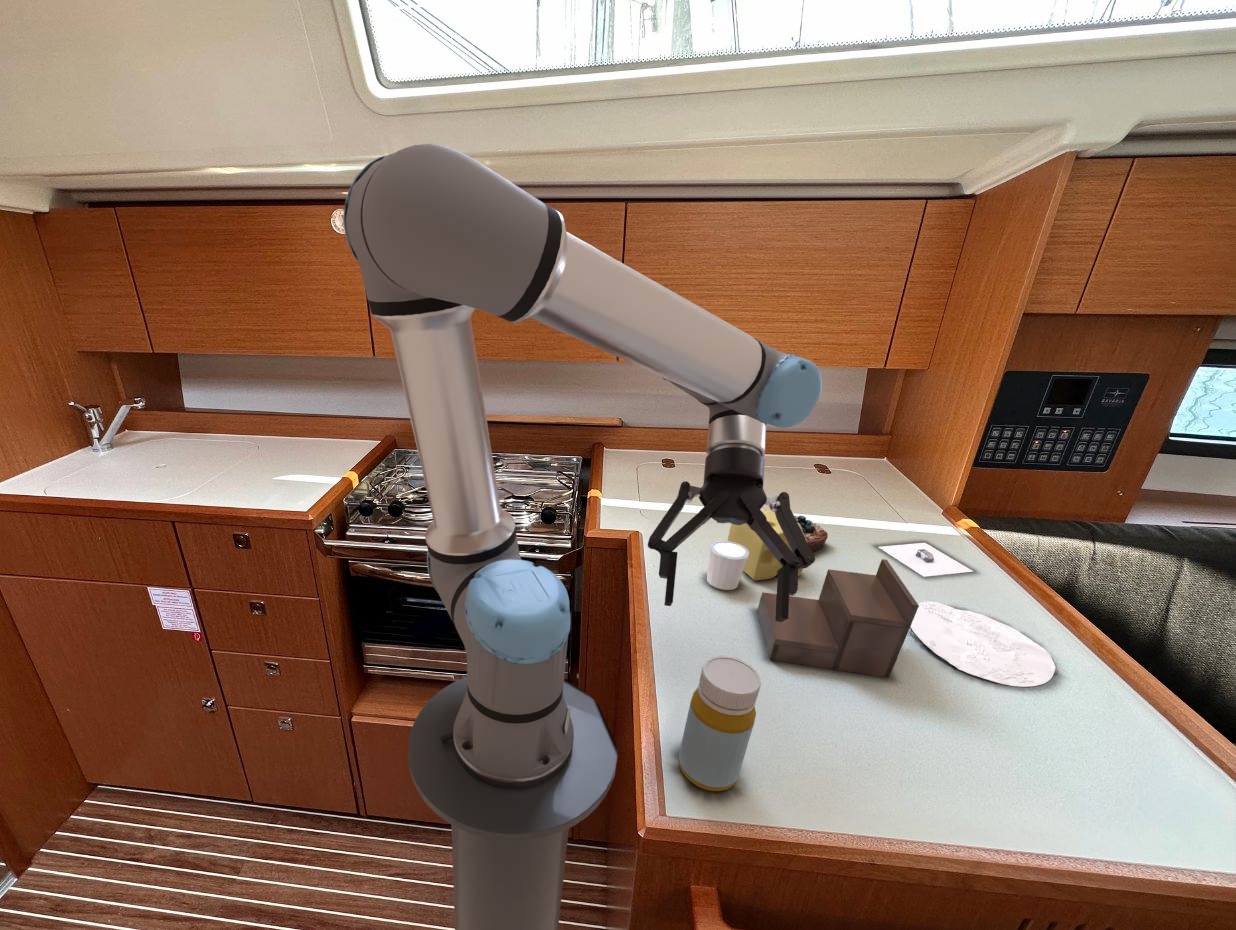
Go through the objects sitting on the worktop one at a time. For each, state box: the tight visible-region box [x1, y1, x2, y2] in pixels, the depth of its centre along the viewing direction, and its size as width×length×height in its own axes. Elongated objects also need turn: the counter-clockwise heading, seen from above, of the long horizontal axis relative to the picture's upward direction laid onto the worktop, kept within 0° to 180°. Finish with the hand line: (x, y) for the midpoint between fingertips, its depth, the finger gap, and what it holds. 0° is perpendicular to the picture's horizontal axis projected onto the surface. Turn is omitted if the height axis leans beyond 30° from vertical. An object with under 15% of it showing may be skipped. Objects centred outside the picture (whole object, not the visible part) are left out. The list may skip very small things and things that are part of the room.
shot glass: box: [706, 540, 749, 591], centre depth 107 cm, size 7×7×7 cm
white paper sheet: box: [878, 542, 974, 578], centre depth 119 cm, size 12×12×2 cm
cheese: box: [727, 509, 807, 581], centre depth 112 cm, size 10×11×10 cm
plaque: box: [910, 601, 1056, 688], centre depth 95 cm, size 20×20×2 cm
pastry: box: [794, 515, 829, 554], centre depth 123 cm, size 11×12×6 cm
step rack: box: [756, 558, 919, 679], centre depth 91 cm, size 17×13×13 cm
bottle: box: [678, 655, 762, 792], centre depth 67 cm, size 7×7×15 cm
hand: (724, 612), depth 73 cm, fingers open, 13 cm apart
